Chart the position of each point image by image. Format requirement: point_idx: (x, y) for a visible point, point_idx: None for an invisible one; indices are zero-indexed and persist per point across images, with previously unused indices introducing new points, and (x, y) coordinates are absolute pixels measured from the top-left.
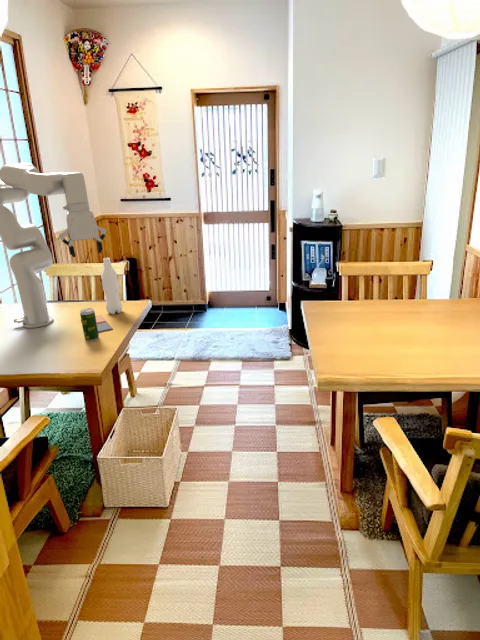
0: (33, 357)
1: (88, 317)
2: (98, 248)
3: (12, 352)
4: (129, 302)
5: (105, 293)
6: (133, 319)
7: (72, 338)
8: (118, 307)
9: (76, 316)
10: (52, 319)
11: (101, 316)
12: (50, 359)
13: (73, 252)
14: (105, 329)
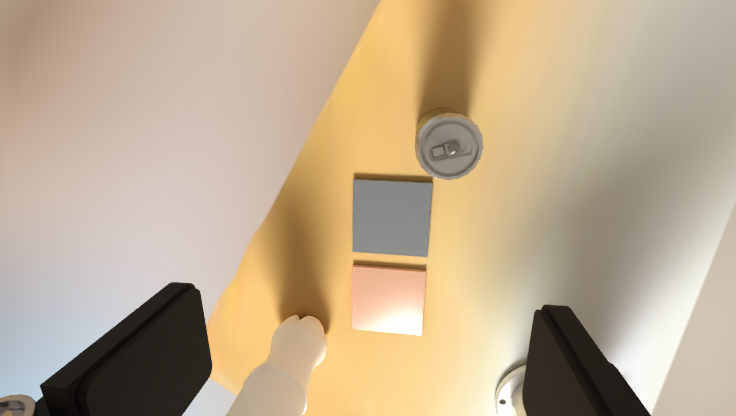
0: (673, 87)
1: (454, 112)
2: (167, 342)
3: (714, 189)
4: None
5: (306, 381)
6: (268, 227)
7: (495, 185)
8: (288, 322)
9: (422, 378)
10: (503, 386)
11: (355, 315)
12: (631, 22)
13: (584, 346)
14: (377, 182)
